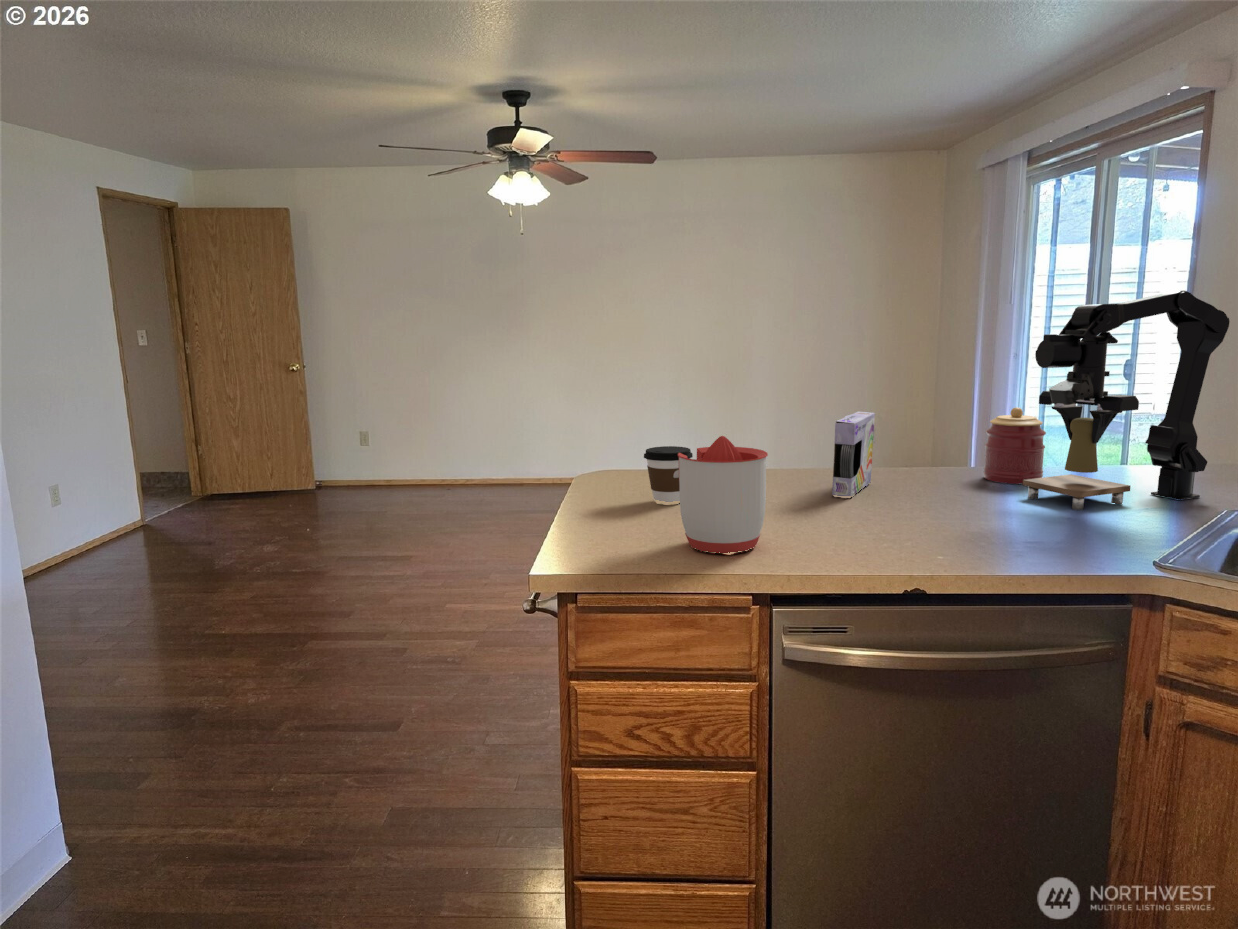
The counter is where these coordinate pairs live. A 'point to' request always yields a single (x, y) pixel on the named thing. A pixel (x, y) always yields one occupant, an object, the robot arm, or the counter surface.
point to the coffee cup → (665, 471)
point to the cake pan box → (853, 453)
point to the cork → (1082, 447)
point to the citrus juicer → (723, 496)
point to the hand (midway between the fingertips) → (1083, 441)
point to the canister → (1014, 448)
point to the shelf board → (1076, 485)
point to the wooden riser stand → (1076, 498)
